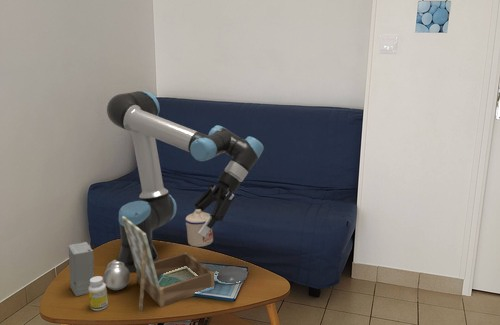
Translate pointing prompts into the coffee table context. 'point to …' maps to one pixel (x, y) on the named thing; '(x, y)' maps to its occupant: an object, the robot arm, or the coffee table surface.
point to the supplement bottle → (98, 293)
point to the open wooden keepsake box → (164, 270)
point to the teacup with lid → (198, 229)
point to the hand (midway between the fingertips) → (194, 230)
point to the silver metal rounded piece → (116, 275)
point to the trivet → (231, 274)
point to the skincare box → (80, 267)
